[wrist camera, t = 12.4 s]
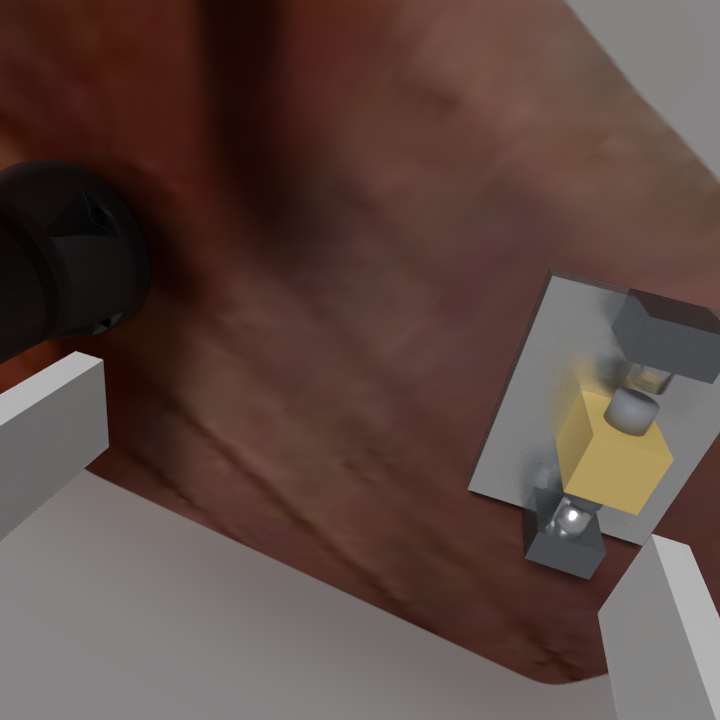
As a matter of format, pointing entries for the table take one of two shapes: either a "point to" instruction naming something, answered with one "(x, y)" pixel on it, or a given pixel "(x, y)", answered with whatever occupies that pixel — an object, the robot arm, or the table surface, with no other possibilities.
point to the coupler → (612, 451)
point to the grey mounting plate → (602, 377)
